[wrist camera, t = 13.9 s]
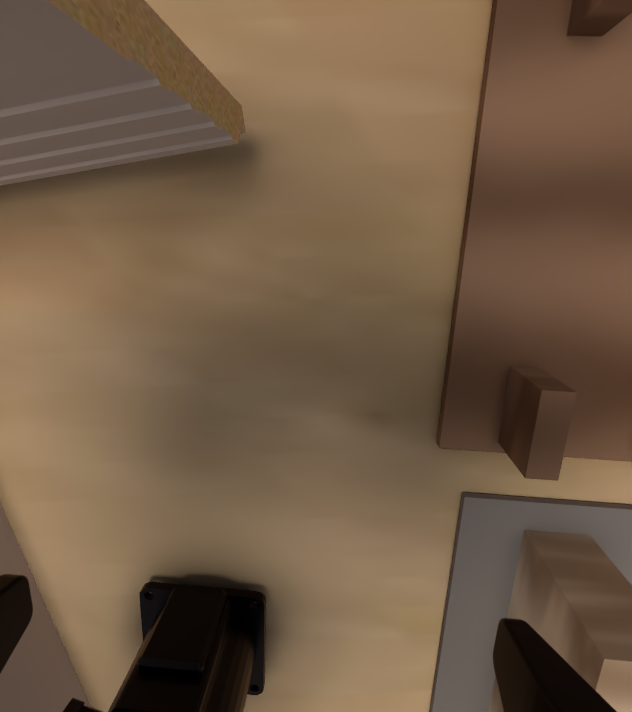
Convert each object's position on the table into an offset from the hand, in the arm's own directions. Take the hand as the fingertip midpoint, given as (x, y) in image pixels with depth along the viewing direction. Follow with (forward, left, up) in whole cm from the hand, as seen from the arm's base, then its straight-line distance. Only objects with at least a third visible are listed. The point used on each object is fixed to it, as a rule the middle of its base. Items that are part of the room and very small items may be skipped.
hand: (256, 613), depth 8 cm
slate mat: (-13, -12, -12) cm, 21 cm away
